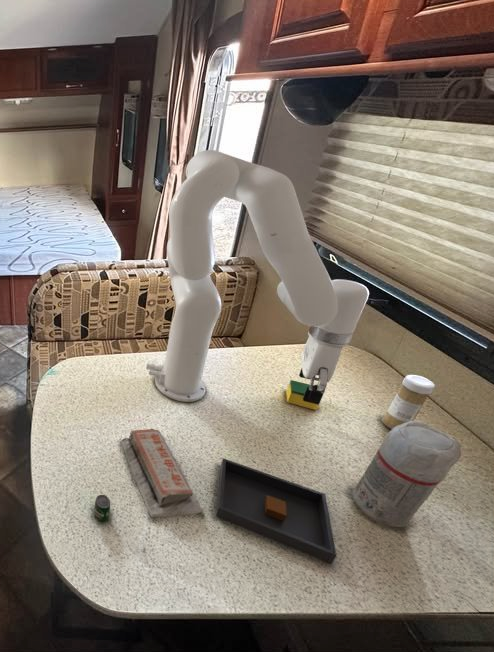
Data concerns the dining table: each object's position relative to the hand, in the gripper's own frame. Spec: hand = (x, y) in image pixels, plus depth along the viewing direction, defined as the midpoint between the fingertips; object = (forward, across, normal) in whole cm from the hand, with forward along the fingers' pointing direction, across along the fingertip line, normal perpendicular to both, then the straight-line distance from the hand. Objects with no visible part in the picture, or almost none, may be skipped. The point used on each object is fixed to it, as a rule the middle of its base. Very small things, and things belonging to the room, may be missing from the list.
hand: (308, 389), depth 93 cm
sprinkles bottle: (+4, 0, +17) cm, 18 cm away
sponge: (+4, 0, -1) cm, 4 cm away
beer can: (+3, +53, -36) cm, 64 cm away
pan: (+3, +37, -9) cm, 38 cm away
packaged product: (+3, +39, -29) cm, 49 cm away
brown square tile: (+3, +37, -8) cm, 38 cm away
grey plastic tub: (+4, +27, +9) cm, 29 cm away
